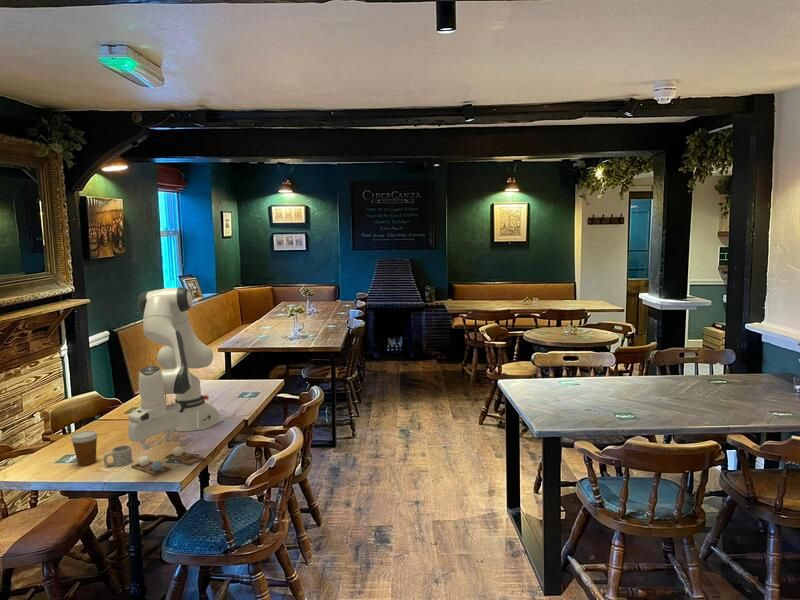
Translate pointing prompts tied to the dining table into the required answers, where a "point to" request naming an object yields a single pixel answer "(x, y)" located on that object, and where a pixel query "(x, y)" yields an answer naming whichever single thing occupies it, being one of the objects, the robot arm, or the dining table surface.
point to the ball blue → (157, 466)
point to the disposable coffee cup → (85, 447)
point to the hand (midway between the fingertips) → (157, 444)
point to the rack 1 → (149, 470)
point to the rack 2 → (186, 458)
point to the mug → (119, 456)
